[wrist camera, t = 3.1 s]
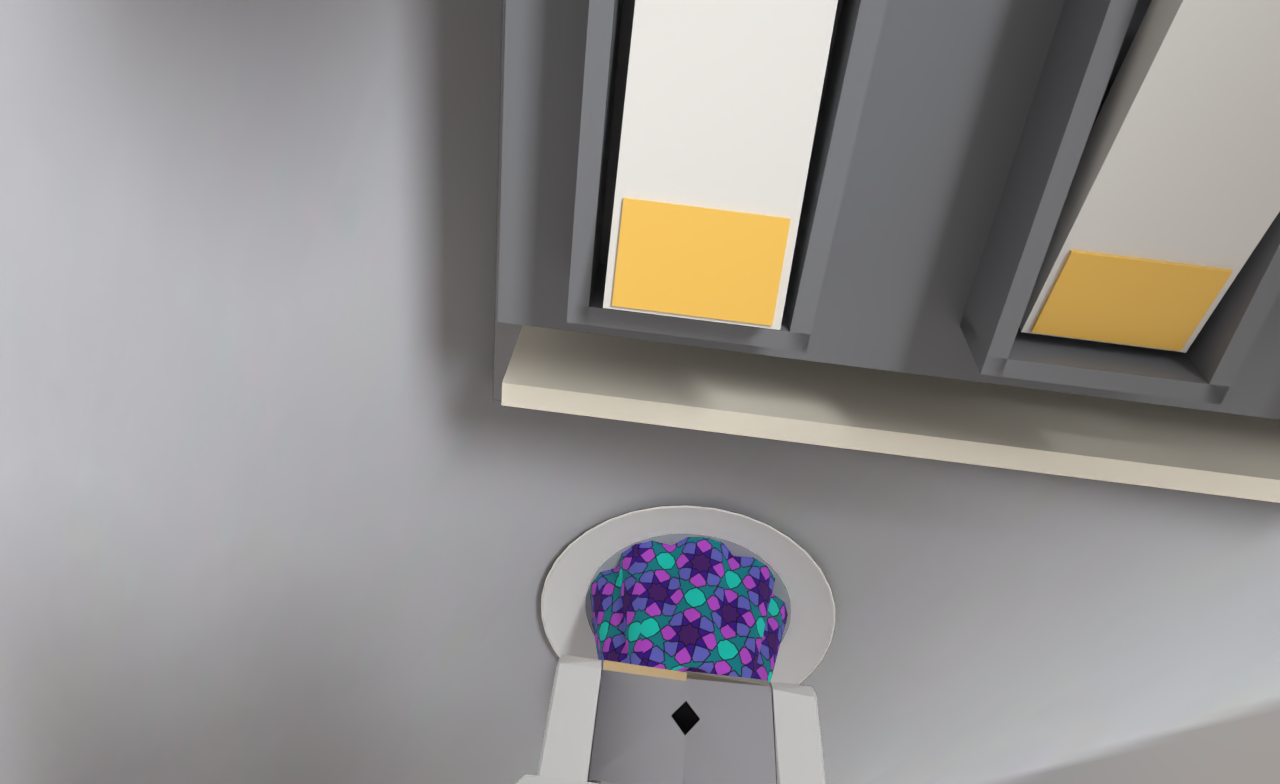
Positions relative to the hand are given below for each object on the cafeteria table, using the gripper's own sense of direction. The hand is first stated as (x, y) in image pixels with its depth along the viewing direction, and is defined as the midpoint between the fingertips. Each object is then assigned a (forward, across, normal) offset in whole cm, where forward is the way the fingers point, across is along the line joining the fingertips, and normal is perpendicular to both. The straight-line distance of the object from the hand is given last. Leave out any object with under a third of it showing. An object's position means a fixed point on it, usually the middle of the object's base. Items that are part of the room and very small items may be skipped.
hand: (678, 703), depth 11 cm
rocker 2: (+13, -10, -3) cm, 17 cm away
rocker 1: (+13, 0, -3) cm, 13 cm away
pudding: (+22, -2, +20) cm, 29 cm away
